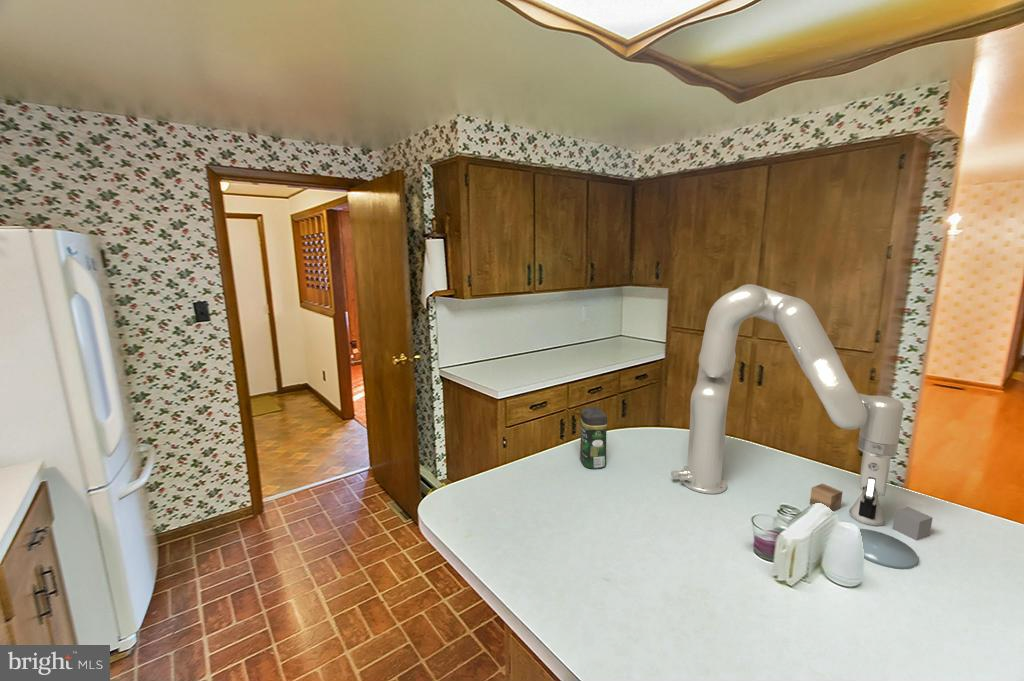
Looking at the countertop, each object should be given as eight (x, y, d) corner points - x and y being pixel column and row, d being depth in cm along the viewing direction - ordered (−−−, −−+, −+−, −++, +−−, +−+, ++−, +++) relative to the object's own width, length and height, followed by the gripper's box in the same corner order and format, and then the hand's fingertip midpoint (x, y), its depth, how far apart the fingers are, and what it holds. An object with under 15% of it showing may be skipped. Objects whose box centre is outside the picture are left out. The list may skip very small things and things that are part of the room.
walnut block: (829, 513, 116) (831, 496, 115) (809, 504, 120) (811, 487, 119) (840, 508, 118) (842, 491, 117) (820, 500, 123) (822, 483, 122)
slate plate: (879, 571, 94) (879, 567, 94) (830, 534, 107) (830, 530, 107) (933, 566, 96) (934, 562, 96) (878, 530, 108) (879, 526, 108)
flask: (891, 528, 109) (897, 491, 107) (858, 525, 111) (863, 488, 109) (874, 512, 116) (879, 477, 114) (843, 509, 118) (848, 474, 116)
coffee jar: (577, 457, 150) (578, 405, 147) (600, 456, 151) (601, 404, 147) (584, 470, 140) (586, 415, 137) (609, 469, 141) (610, 414, 138)
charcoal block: (916, 541, 104) (919, 521, 104) (892, 529, 109) (895, 510, 108) (929, 536, 106) (932, 517, 105) (905, 524, 111) (908, 506, 110)
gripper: (895, 461, 101) (884, 533, 104) (898, 439, 114) (888, 503, 117) (854, 452, 106) (845, 521, 109) (861, 431, 119) (852, 494, 122)
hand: (867, 511), depth 113 cm, fingers closed on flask, 5 cm apart
